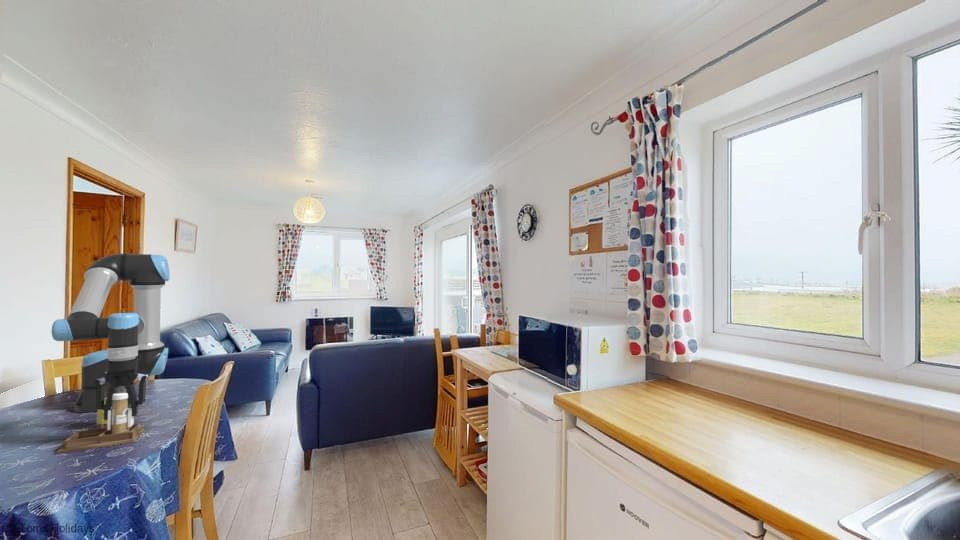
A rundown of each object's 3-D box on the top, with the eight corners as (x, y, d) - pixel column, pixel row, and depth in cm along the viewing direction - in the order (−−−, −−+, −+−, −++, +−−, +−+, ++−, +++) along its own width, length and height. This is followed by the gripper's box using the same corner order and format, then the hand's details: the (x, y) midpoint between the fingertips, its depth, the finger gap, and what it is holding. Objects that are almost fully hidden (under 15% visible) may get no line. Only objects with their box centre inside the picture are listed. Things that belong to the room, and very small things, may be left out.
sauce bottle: (104, 430, 128) (106, 374, 128) (91, 428, 129) (93, 373, 130) (126, 423, 134) (127, 370, 135) (113, 421, 136) (114, 369, 136)
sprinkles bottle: (123, 434, 120) (124, 394, 121) (107, 435, 119) (108, 395, 120) (133, 428, 125) (134, 390, 125) (117, 429, 124) (118, 390, 124)
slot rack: (76, 438, 121) (77, 429, 121) (146, 428, 130) (146, 420, 130) (55, 454, 111) (56, 444, 111) (133, 442, 119) (133, 433, 119)
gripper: (81, 363, 115) (79, 436, 115) (151, 358, 123) (150, 426, 123) (93, 358, 122) (91, 427, 121) (159, 354, 130) (157, 418, 129)
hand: (120, 427), depth 122 cm, fingers closed on sprinkles bottle, 4 cm apart
